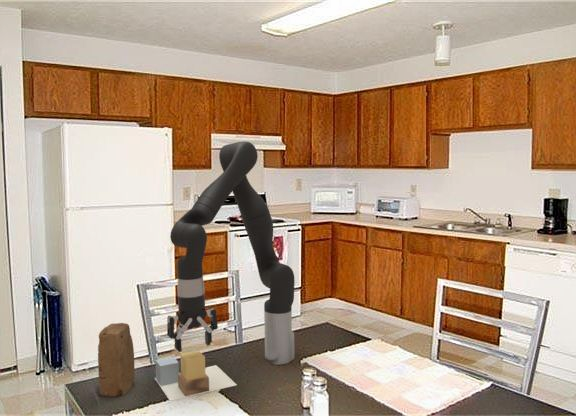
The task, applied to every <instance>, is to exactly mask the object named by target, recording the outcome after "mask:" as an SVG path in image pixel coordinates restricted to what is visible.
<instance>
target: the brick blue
mask: <svg viewBox="0 0 576 416" xmlns="http://www.w3.org/2000/svg"><path fill="white" fill-rule="evenodd" d="M179 364H180V363H179V361H178V360H177V359H176V357H174V356H169V357H163V358H158V359H155V378H156V380H157V381H158V383H159V384H160V385H161V386H163V385H167V384H172V383H176V382H178V374H179V373H180V367H179ZM156 380H155V381H156ZM157 381H156V382H157ZM158 383H157V384H158ZM159 384H158V385H159Z"/></svg>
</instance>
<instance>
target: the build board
mask: <svg viewBox="0 0 576 416" xmlns="http://www.w3.org/2000/svg"><path fill="white" fill-rule="evenodd" d="M205 374H206V375H207V376H208V377H209V391H206V392H202V393H198V394H194V395H189V396H185V395H184V394H183V393H182V391H181V390H180V389H179V387H178V382H176V383H172V384H167V385H163V386H161V385H160V384H159V383H158V381H157V380H156V377H154V380H155V381H156V383H157V384H158V386H159V387H160V388H161V390H162V391H163V393H164V394H165V396H166V397H167V399H168V400H169V402H173V401H177V400H180V399H181V400H182V399H185V398H188V397H193V396H198V395H201V394H205V393H210V392H213V391H214V392H215V391H219V390H224V389H227V388H231V387H235V386H238V384H237V383H236V382H235V381H233V379H232V378H230V376H228V375H227V374H226V373H225V372H224V371H223V370H222V369H221V368H220V367H218V365H216V364H215V365H211V366H207V367H206V366H205Z"/></svg>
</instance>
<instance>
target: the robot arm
mask: <svg viewBox="0 0 576 416" xmlns="http://www.w3.org/2000/svg"><path fill="white" fill-rule="evenodd" d="M218 155H219V163H220V167H221V168H222V171H223V172H222V173H221V174H220V175H219V176H218V177H217V178H216V179H215V180H213V181H212V183H210V184H209V185H208V186H207V187H206V188H205V189H204V190H203V191H202V192H201V194H200V195H199V196H198V198H197V199H196V201H195V203H194V204H193V206H192V207H191V208H190V209H189V210H188V211H187V212H186V213H184V214H183V215H182V216H181V217H180V218H179V219H177V221H176V222H175V223H174V225H173V226H172V228H171V231H170V242H171V244H172V245H173V246H175V247H177V248H183V249H186V253H185V255H184V256H181V257H179V258H178V259H177V262H176V265H177V269H176V270H177V288H176V289H177V303H178V304H177V307H178V308H177V309H178V313H177V315H173V316H172V315H168V316H167V320H166V321H167V324H166V325H167V329H166V330H167V334H166V335H167V337H169V338H170V339H173V340H174V348H175V349H176V350H177V352H178V353H181V352H182V351H183V350H182V349H183V347H182V339H181V338H182V336H183V334H184V333H186V331H187V329H188V330H191V329H194V328H200V326H201V327H202V328H203V329H204V330H205V331H204V341H205V345H206V346H207V347H208V346H210V345H211V344H212V342H213V339H212V338H213V337H212V336H213V334H212V333H213V331H215V330H217V329H218V317H217V311H216V309H214V308H213V307H210V308H209V309H207V310H206V299H205V298H206V297H205V291H206V290H205V282H204V277H203V276H204V274H203V272H204V271H203V262H204V261H203V260H204V257H205V251H206V247H207V241H208V235H207V231H206V229H205V228H204V227H203V226H205V225H210V224H211V223H212V222H213V221H214V219H215V218H216V216H217V214H218V212H219V211H220V210H221V209H222V206H223V205H224V203H225V202H226V201H227V199H228V197H229V196H230V195H231V194H233V196H234V199H235V203H236V205H237V208H238V209H239V214H240V216H241V220H242V224H243V226H244V228H245V231H246V233H247V236H248V241H249V243H250V245H251V248H252V250H253V254H254V257H255V263H256V266H257V271H258V276H259V278H260V281H261V283H262V285H263V286H265V287H266V288H268V289H269V299H267V300H265V302H264V305H263V307H264V308H263V310H264V312H263V313H264V314H263V317H264V318H263V319H264V320H263V321H264V322H263V323H264V360H265V361H267V362H268V363H269V364H271V365H275V366H276V365H286V364H289V363H290V362H292V361H295V332H294V331H293V325H292V324H293V322H292V321H293V319H292V318H293V316H292V313H293V312H292V307H293V304H294V300H295V284H296V283H295V282H296V281H295V274H294V271H293V269H292V268H291V266H289V265H287V264H284V263H281V262H280V261H279V259H278V257H277V254H276V252H275V251H276V250H275V248H274V242H273V239H274V223H273V219H272V215H271V212H270V210H269V206H268V204H267V203H266V201H265V200H264V198H263V197H262V196H261V195H260V194H259V193H258V192H257V190H255V189H254V187H252V185H251V183H250V181H249V179H248V174H249V173H250V171H251V170H253V168H254V167H255V165H256V164H257V162H258V156H259V155H258V150H257V149H256V147H255V145H254V144H253V143H251V142H250V141H237V142H233V143H229V144H225V145H223V146H222V147H221V148H220V150H219V154H218ZM207 316H208V317H209V320H210V325H208V324H207V323H206V321H205V319H206V318H207ZM177 321H178V322H179V324H178V326H177V329H176V330H175V324H177Z"/></svg>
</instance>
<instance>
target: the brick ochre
mask: <svg viewBox="0 0 576 416" xmlns="http://www.w3.org/2000/svg"><path fill="white" fill-rule="evenodd" d="M205 368H206V356H205V355H204V354H203V353H202V352H201V351H200V350H195V351H190V352H185V353H180V373H181V375H182V376H183V377H184V378H185V379H186V381H189V380H194V379H198V378H203V377H205Z"/></svg>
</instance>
